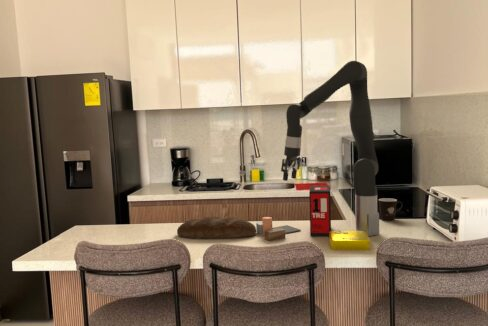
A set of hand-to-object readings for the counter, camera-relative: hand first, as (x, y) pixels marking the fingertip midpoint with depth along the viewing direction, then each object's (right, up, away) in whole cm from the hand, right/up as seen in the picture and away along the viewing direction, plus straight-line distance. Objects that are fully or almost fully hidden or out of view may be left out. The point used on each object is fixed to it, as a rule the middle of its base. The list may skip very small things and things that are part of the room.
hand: (289, 179), depth 199 cm
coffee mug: (+51, -21, +7) cm, 56 cm away
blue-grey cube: (-13, -24, -9) cm, 29 cm away
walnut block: (-8, -25, -20) cm, 33 cm away
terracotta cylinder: (-11, -25, -15) cm, 31 cm away
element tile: (+20, -26, -32) cm, 46 cm away
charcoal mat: (-2, -23, -6) cm, 24 cm away
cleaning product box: (+13, -24, -11) cm, 29 cm away
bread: (-34, -26, -10) cm, 44 cm away
